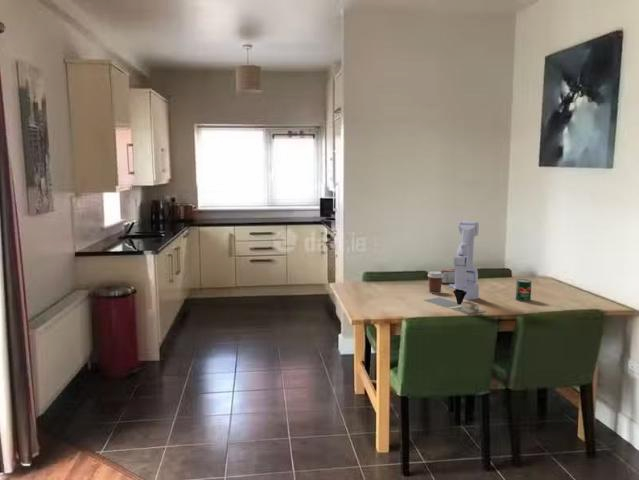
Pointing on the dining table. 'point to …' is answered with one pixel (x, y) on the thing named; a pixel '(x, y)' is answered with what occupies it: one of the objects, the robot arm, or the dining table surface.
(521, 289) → the canned tomato
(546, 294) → the dining table surface
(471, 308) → the ash block
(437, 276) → the coffee cup
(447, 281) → the tin
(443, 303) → the slide mat
